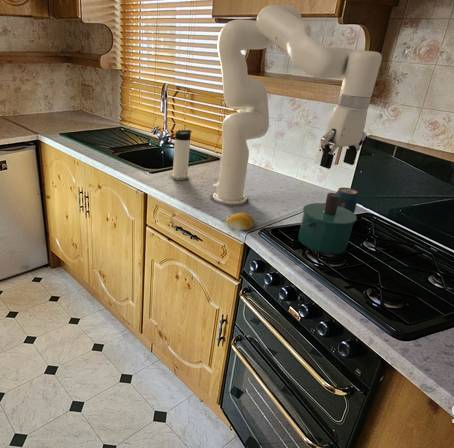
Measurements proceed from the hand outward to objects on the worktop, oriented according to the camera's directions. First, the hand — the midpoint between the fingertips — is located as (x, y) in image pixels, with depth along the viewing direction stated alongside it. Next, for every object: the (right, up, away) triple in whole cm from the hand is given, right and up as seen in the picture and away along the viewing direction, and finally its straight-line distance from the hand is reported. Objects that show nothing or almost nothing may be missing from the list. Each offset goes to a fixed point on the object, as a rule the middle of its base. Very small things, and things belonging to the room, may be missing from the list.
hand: (336, 165), depth 112 cm
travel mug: (-41, +3, +58) cm, 71 cm away
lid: (0, -14, +5) cm, 14 cm away
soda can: (+10, -17, +22) cm, 30 cm away
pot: (-1, -22, +9) cm, 24 cm away
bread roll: (-24, -17, +17) cm, 34 cm away
